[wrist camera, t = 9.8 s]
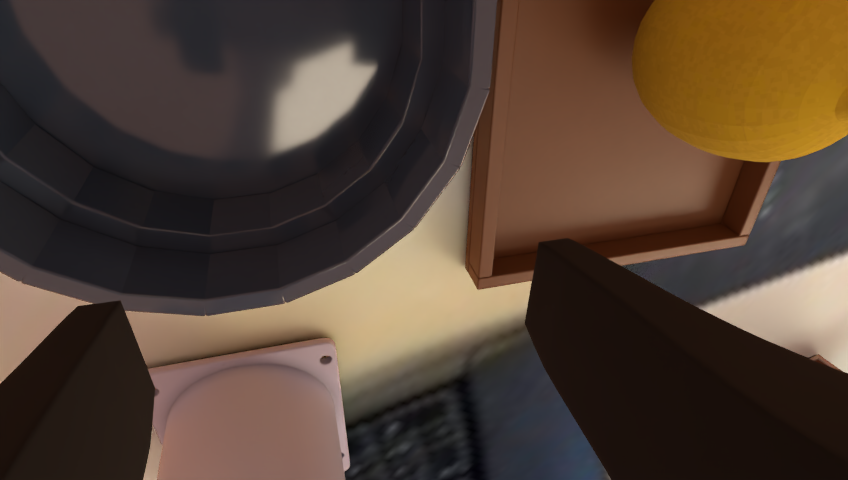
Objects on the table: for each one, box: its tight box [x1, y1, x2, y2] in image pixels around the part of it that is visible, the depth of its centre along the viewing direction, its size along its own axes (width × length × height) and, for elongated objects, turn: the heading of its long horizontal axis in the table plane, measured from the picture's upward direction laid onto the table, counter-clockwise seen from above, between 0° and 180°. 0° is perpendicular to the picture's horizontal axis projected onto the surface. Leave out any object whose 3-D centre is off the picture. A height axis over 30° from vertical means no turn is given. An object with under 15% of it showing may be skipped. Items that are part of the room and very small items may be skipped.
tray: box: [465, 0, 781, 289], centre depth 18 cm, size 19×13×2 cm
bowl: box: [0, 0, 497, 316], centre depth 13 cm, size 14×14×5 cm
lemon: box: [632, 0, 848, 162], centre depth 15 cm, size 6×6×8 cm
